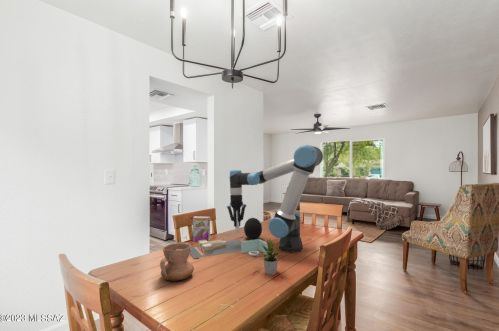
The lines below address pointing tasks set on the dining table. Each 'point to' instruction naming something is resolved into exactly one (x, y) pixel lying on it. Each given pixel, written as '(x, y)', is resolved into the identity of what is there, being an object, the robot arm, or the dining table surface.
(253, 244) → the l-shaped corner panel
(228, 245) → the board
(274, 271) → the house plant
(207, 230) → the candy bar box
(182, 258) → the ceramic jug
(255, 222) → the decorative egg
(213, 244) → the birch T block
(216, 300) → the dining table surface
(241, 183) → the robot arm
